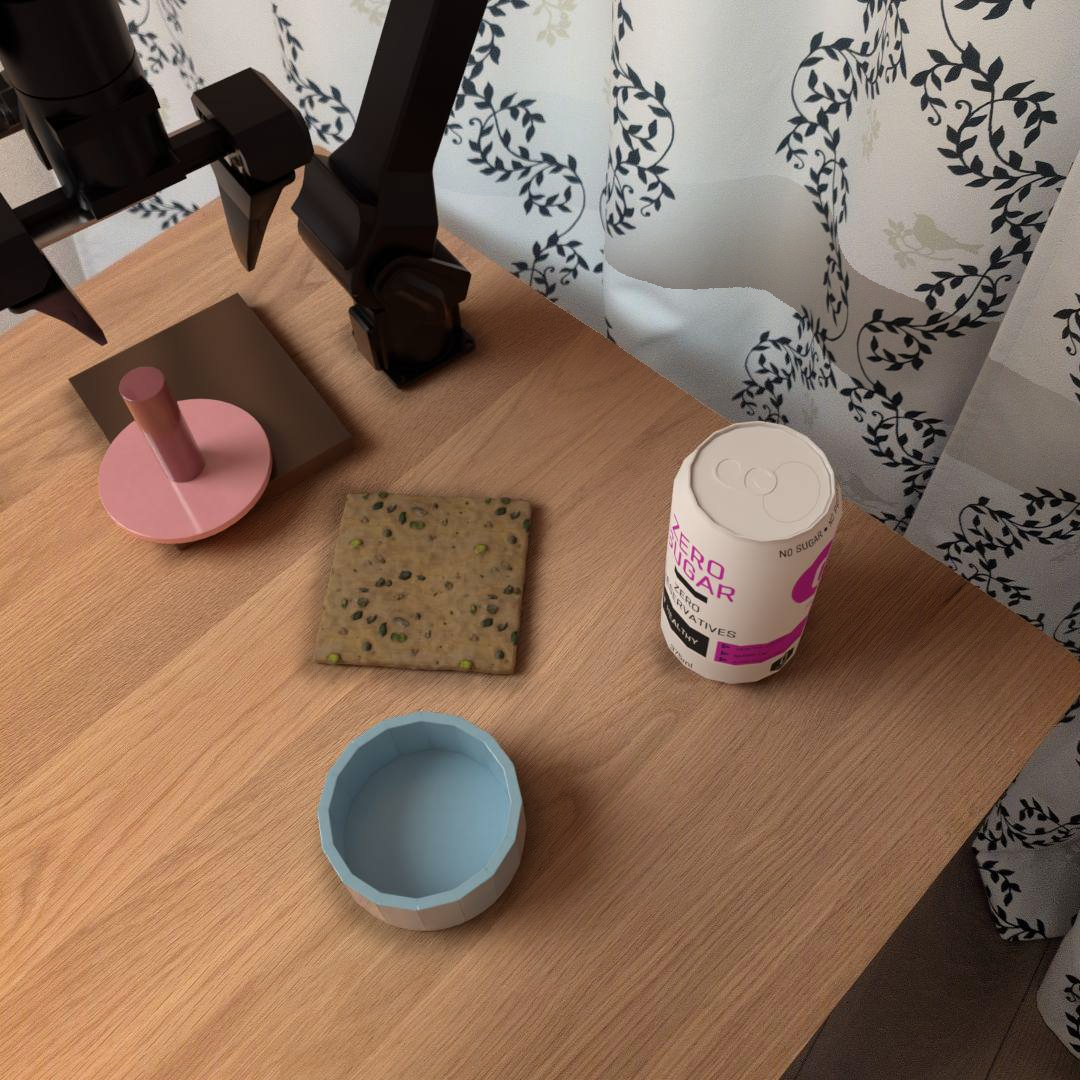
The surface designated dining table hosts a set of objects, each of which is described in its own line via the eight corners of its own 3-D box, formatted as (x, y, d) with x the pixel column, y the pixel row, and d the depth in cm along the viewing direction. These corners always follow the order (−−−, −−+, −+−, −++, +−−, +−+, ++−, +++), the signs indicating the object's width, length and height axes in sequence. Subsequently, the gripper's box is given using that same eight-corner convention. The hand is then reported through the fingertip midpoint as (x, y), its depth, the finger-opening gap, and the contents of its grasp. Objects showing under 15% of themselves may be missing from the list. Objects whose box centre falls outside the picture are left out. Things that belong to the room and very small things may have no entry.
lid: (301, 429, 75) (267, 333, 67) (230, 567, 69) (184, 480, 62) (153, 395, 77) (103, 297, 69) (73, 526, 71) (9, 436, 64)
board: (242, 306, 83) (237, 291, 81) (356, 449, 76) (352, 435, 74) (75, 392, 79) (67, 378, 78) (178, 551, 72) (171, 538, 71)
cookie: (345, 494, 74) (342, 486, 73) (534, 503, 73) (533, 495, 72) (310, 664, 67) (306, 657, 66) (516, 676, 66) (515, 669, 65)
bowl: (457, 710, 65) (448, 676, 62) (563, 853, 61) (561, 826, 57) (301, 814, 63) (282, 785, 59) (400, 972, 58) (386, 952, 54)
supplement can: (818, 593, 69) (869, 442, 56) (773, 710, 65) (816, 577, 52) (690, 546, 71) (710, 391, 58) (638, 658, 67) (649, 517, 54)
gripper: (178, -91, 58) (253, 159, 72) (-187, 53, 53) (-32, 294, 66) (284, 13, 53) (344, 260, 67) (-106, 183, 48) (44, 415, 61)
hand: (176, 302), depth 65 cm, fingers open, 9 cm apart
